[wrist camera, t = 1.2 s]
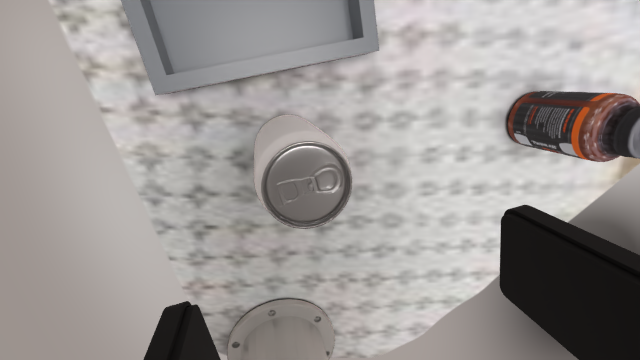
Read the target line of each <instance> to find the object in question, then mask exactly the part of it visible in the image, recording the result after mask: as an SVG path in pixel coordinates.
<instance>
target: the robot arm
mask: <svg viewBox="0 0 640 360" xmlns="http://www.w3.org/2000/svg"><path fill="white" fill-rule="evenodd" d="M500 288H501V291H502V293H503V294H504V295H505V296H506V298H508V299H509V300H510V301H511V302H512V303H513V304H515V305H516V306H517V307H518V308H519V309H520V310H522V311H523V312H524V313H525V314H526V315H528V316H529V317H530V318H531V319H532V320H533V321H534V322H536V323H537V324H538V325H539V326H540V327H541V328H543V329H544V330H545V331H546V332H547V333H548V334H550V335H551V336H552V337H553V338H554V339H555V340H557V341H558V342H559V343H560V344H561V345H562V346H563V347H565V348H566V349H567V350H568V351H569V352H570V353H572V354H573V355H574V356H575V357H576V358H578V359H579V360H640V255H638V254H636V253H633V252H631V251H629V250H627V249H625V248H622V247H620V246H618V245H616V244H613V243H611V242H609V241H607V240H605V239H602V238H600V237H598V236H596V235H593V234H591V233H589V232H587V231H584V230H582V229H580V228H578V227H576V226H574V225H571V224H569V223H567V222H565V221H562V220H560V219H558V218H556V217H554V216H551V215H549V214H547V213H545V212H542V211H540V210H538V209H536V208H534V207H531V206H529V205H522V206H518V207H515V208H511V209H508V210H507V211H506V212H505V213H504V216H503V217H502V218H501V247H500ZM334 344H335V336H334V330H333V327H332V324H331V322H330V320H329V318H328V316H327V315H326V314H325V313H324V312H323V311H322V310H321V309H320V308H318V307H317V306H315V305H313V304H311V303H309V302H305V301H301V300H293V299H285V300H276V301H273V302H269V303H266V304H263V305H261V306H259V307H257V308H255V309H253V310H252V311H250V312H249V313H247V314H246V315H245V316H244V317H243V318H242V319H241V320H240V321H239V322H238V323H237V325H236V326H235V327H234V329H233V331H232V333H231V335H230V338H229V342H228V349H227V357H228V360H329V358H330V357H331V355H332V352H333V349H334ZM144 360H220V357H219V355H218V352H217V350H216V347H215V345H214V342H213V340H212V338H211V335H210V333H209V330H208V328H207V325H206V323H205V321H204V318H203V316H202V313H201V311H200V308H199V307H198V305H191V303H190V302H188V301H186V302H183V303H179V304H176V305H172V306H169V307H166V308H165V309H164V311H163V313H162V315H161V318H160V320H159V323H158V325H157V328H156V330H155V333H154V335H153V337H152V340H151V343H150V345H149V347H148V350H147V353H146V355H145V357H144Z"/></svg>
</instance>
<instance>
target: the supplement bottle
mask: <svg viewBox="0 0 640 360" xmlns="http://www.w3.org/2000/svg"><path fill="white" fill-rule="evenodd" d="M508 130H509V134H510V136H511V137H512V139H513V140H514V141H515V142H517V143H519V144H522V145H525V146H529V147H533V148H537V149H542V150H547V151H551V152H556V153H560V154H564V155H568V156H573V157H577V158H581V159H586V160H591V161H596V162H605V161H610V160H613V159H615V158H618V157H619V156H624V157H633V158H639V159H640V104H639V103H638V101H637V100H636V99H634V98H633V97H631V96H628V95H625V94H618V93H588V92H552V91H540V92H531V93H529V94H526V95H525V96H523V97H522V98H521V99H519V100H518V102H517V103H516V104H515V105H514V107H513V108H512V110H511V112H510V115H509V119H508Z"/></svg>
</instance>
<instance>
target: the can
mask: <svg viewBox="0 0 640 360" xmlns="http://www.w3.org/2000/svg"><path fill="white" fill-rule="evenodd" d="M254 184H255V189H256V192H257V195H258V198H259V200H260V201H261V203H262V205H263V206H264V207H265V208H266V210H267V211H269V212H270V213H271V215H272V216H273V217H274V218H276V219H277V220H278V221H280V222H281V223H283V224H285V225H287V226H290V227H294V228H301V229H308V228H314V227H318V226H321V225H324V224H326V223H328V222H329V221H331V220H332V219H334V218H335V217H336V216H337V215H338V214H339V213H340V212H341V211H342V210H343V208H344V207H345V205H346V204H347V202H348V200H349V197H350V194H351V189H352V176H351V170H350V165H349V161H348V158H347V156H346V154H345V153H344V151H343V150H342V148H341V147H340V146H339V145H338V143H336V142H335V141H334V140H333V139H332V138H331V137H329V136H328V135H327V134H325V133H324V132H323V131H321V130H320V129H319V128H317V127H316V126H314V125H313V124H312V123H310V122H309V121H307V120H305V119H304V118H301V117H299V116H295V115H281V116H278V117H275V118H273V119H271V120H269V121H268V122H267V123H266V124H264V126H263V127H262V128H261V129H260V131H259V133H258V135H257V137H256V140H255V147H254Z"/></svg>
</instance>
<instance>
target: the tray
mask: <svg viewBox="0 0 640 360" xmlns="http://www.w3.org/2000/svg"><path fill="white" fill-rule="evenodd" d="M121 2H122V5H123V7H124V10H125V13H126V16H127V18H128V21H129V24H130V26H131V29H132V32H133V35H134V37H135V40H136V43H137V46H138V48H139V51H140V54H141V57H142V59H143V62H144V65H145V68H146V70H147V73H148V76H149V79H150V81H151V84H152V87H153V90H154V92H155V95H161V94H169V93H174V92H179V91H184V90H189V89H194V88H199V87H204V86H209V85H214V84H219V83H224V82H229V81H234V80H239V79H244V78H249V77H254V76H259V75H264V74H269V73H274V72H279V71H284V70H289V69H293V68H298V67H303V66H308V65H313V64H318V63H323V62H328V61H333V60H338V59H343V58H348V57H353V56H358V55H363V54H368V53H371V52H375V51H379V42H378V33H377V24H376V16H375V7H374V0H121Z"/></svg>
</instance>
